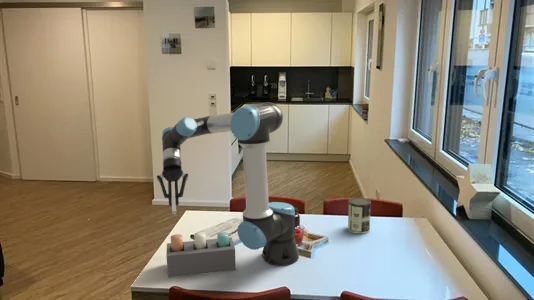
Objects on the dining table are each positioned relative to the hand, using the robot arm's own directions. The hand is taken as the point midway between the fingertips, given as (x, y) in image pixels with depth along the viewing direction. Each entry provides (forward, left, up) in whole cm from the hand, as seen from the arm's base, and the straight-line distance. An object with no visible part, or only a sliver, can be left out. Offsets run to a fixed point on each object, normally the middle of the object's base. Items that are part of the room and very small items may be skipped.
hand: (174, 212), depth 178 cm
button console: (-11, -1, -22) cm, 24 cm away
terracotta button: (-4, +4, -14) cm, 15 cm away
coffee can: (-55, -65, -22) cm, 88 cm away
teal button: (-18, -7, -15) cm, 24 cm away
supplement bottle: (-29, -47, -22) cm, 60 cm away
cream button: (-11, -1, -14) cm, 18 cm away
